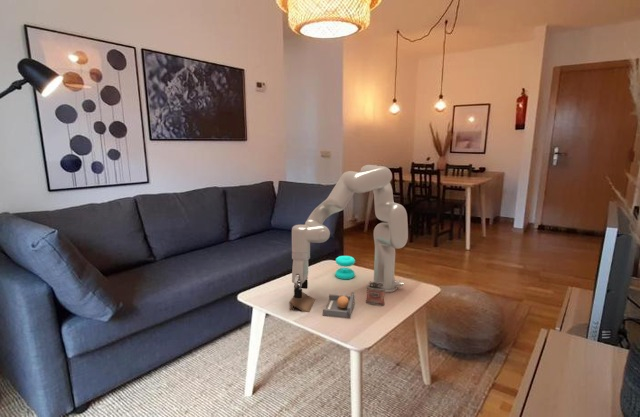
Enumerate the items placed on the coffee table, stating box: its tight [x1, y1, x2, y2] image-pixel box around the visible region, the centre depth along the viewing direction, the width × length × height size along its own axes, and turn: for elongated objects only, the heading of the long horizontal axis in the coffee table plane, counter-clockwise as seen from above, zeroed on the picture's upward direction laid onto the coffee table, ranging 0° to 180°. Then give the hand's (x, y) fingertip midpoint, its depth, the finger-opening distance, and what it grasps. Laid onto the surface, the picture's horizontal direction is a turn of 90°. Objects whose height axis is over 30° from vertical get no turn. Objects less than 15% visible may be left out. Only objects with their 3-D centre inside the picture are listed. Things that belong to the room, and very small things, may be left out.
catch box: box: [322, 292, 355, 320], centre depth 147 cm, size 11×15×4 cm
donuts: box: [335, 255, 356, 280], centre depth 182 cm, size 10×10×10 cm
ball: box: [337, 295, 349, 308], centre depth 147 cm, size 5×5×5 cm
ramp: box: [288, 291, 316, 313], centre depth 150 cm, size 9×12×5 cm
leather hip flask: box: [365, 280, 385, 307], centre depth 151 cm, size 8×3×10 cm, turn 70°
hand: (301, 292), depth 150 cm, fingers open, 9 cm apart
